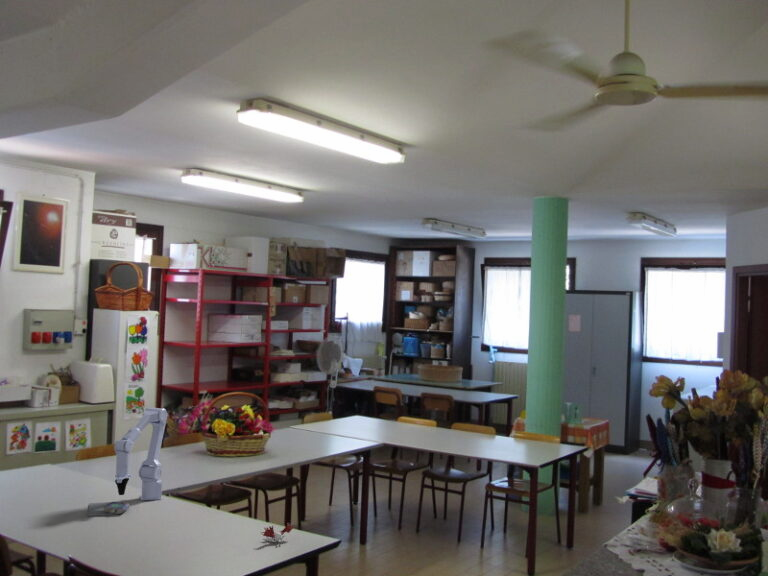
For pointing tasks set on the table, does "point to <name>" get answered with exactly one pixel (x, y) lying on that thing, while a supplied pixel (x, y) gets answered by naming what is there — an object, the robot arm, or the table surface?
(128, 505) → the clover print pouch
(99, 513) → the mat
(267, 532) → the figurine
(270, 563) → the table surface
